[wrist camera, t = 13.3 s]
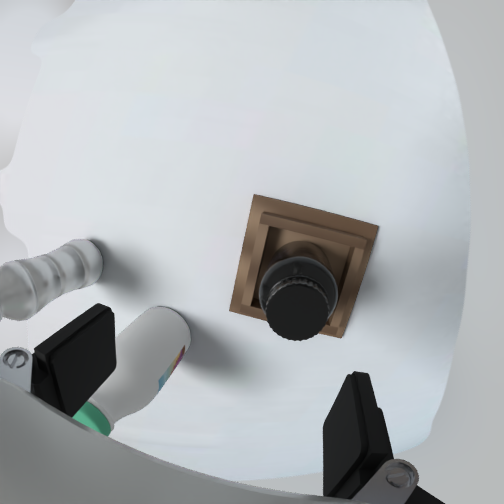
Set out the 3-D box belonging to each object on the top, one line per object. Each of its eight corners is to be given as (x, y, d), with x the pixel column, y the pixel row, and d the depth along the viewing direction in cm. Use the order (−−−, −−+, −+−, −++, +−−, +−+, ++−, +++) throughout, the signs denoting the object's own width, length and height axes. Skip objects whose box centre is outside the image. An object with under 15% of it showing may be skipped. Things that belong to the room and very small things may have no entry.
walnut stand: (254, 194, 33) (249, 195, 30) (376, 225, 31) (384, 230, 28) (230, 308, 36) (224, 320, 33) (340, 335, 35) (343, 348, 32)
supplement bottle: (342, 265, 32) (362, 309, 21) (302, 309, 34) (301, 368, 23) (295, 225, 32) (292, 250, 21) (256, 272, 34) (233, 318, 22)
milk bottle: (133, 310, 39) (36, 390, 20) (179, 299, 37) (86, 394, 18) (155, 357, 40) (79, 451, 21) (201, 350, 38) (134, 461, 19)
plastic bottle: (94, 289, 39) (-7, 351, 20) (68, 254, 39) (-37, 298, 20) (116, 262, 37) (3, 322, 18) (88, 225, 37) (-30, 262, 18)
